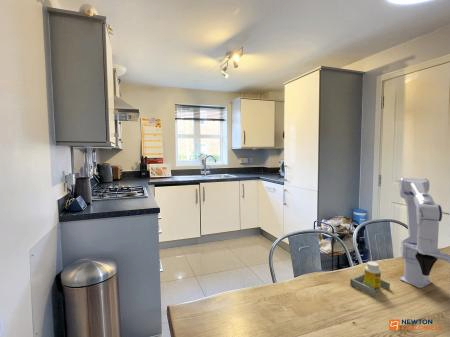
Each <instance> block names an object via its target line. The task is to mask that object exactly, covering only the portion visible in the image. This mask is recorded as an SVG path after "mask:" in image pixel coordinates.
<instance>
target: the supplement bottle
mask: <svg viewBox="0 0 450 337" xmlns="http://www.w3.org/2000/svg"><path fill="white" fill-rule="evenodd" d="M364 273H365V275H364V281H363V284H364V285H366V286H368V287H371V288H373V289H375V290H376V291H375V292H378V291H380V290H381V286H380V279H382V278H381V277H382V271H381V268H380V266H379V263H377V262H375V261H367V262H366V266H364Z"/></svg>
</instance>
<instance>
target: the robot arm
mask: <svg viewBox="0 0 450 337" xmlns="http://www.w3.org/2000/svg"><path fill="white" fill-rule="evenodd" d="M429 192H430V180H429V179H428V178H417V177H415V178H414V177H413V178H412V177H411V178H410V177H401V178H400V179H399V195H400V198H402V199H403V200H404V201H405V204H406V222H407V233H408V234H407V237H404V238H402V239H401V240H400V257H401V258H402V259H404V265H403V266H404V269H403V276H401V277H399V278H398V279H399V280H400V281H402V282H405V283H407V284H409V285H412V286H415V287H417V288H419V289H422V288H424V287H426V286H427V285H429V284H431V283H432V282H433V280H431V279H430V273H431V271H432V268H433V266H434V265H435V264H436V262H437V261H438V260H441V261H444V262H447V263H449V264H450V255H449V254H447V253H445V252H443V251H440V250H438V248H439V247H438V246H439V228H440V227H439V226H440V222H442V219H443V209H442V206H441V204H437V203H436V202H435V201H434V199H433V197H432V195H431V194H430V193H429Z"/></svg>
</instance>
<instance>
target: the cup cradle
mask: <svg viewBox="0 0 450 337" xmlns="http://www.w3.org/2000/svg"><path fill="white" fill-rule="evenodd" d="M364 275H365V272H364V273H362V274H359V275H356V276H355V277H352V278H350V279H349V280H350V283H349V284H350V286H352V287H354V288H356V289H358V290H360V291H362V292H363V293H366V294H367V295H369V296H372V297H373V298H375V297H376V292H377V291H376V290H375V289H373V288H371V287H368V286H366V285H364V283H362V282H364ZM380 287H382V288H384V289H387V291H388V290H390V289H391V283H390V282H389V281H386V280H384V279H382V278H381V279H380Z"/></svg>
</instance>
